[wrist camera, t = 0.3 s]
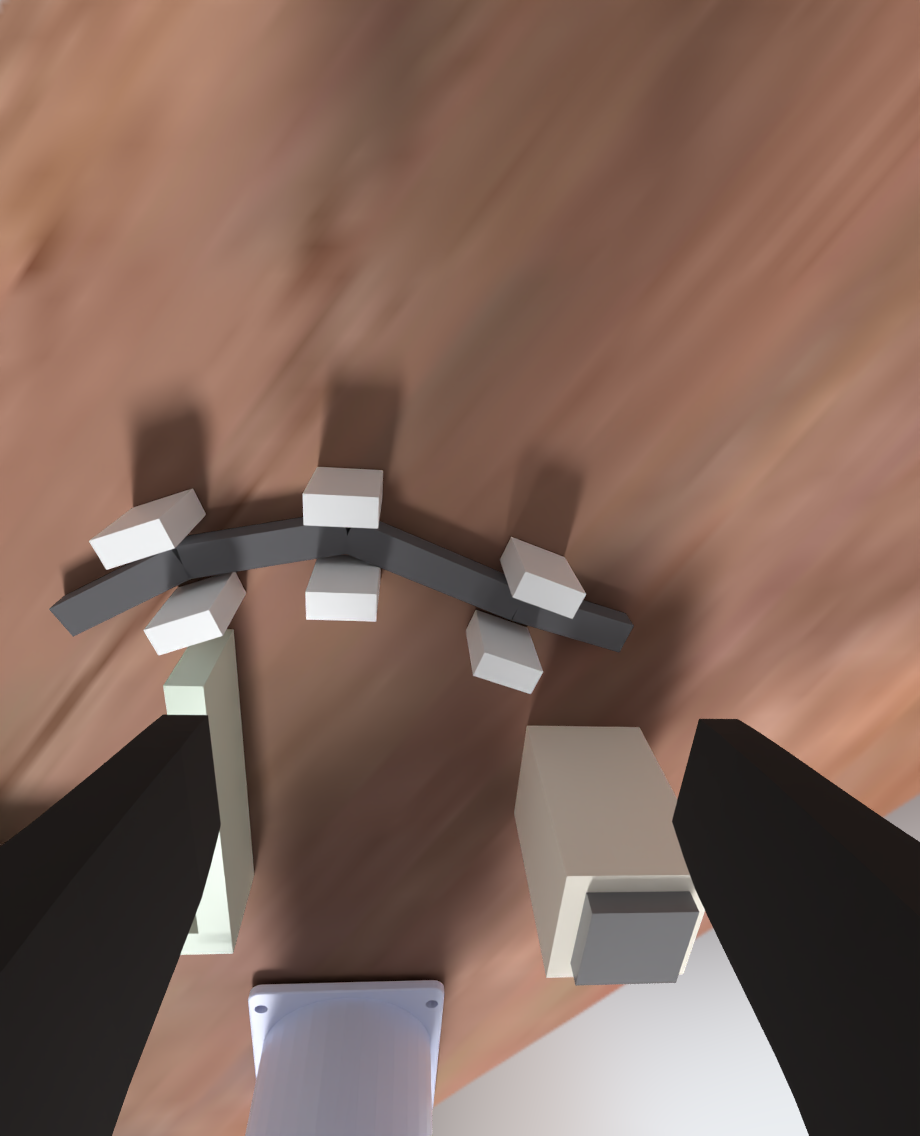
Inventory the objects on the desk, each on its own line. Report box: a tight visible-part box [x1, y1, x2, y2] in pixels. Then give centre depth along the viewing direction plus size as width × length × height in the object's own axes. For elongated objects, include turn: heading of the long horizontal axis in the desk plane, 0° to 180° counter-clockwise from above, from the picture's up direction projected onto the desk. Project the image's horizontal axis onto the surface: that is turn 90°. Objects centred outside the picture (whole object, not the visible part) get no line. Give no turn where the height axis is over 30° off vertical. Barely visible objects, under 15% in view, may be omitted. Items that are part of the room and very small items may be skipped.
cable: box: [49, 517, 634, 652], centre depth 18 cm, size 4×17×1 cm, turn 86°
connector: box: [514, 726, 705, 985], centre depth 19 cm, size 4×4×7 cm
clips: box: [89, 467, 586, 694], centre depth 17 cm, size 6×12×2 cm, turn 86°
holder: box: [163, 629, 254, 955], centre depth 19 cm, size 10×10×3 cm
